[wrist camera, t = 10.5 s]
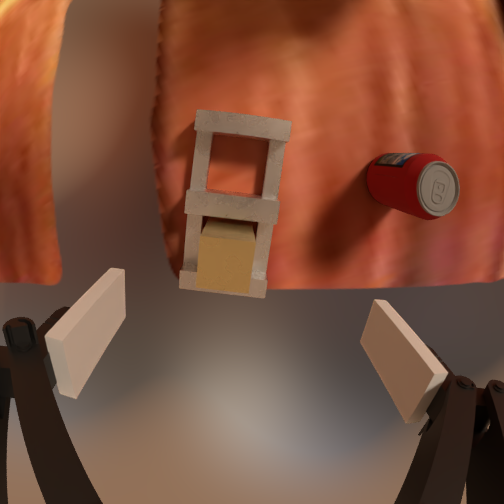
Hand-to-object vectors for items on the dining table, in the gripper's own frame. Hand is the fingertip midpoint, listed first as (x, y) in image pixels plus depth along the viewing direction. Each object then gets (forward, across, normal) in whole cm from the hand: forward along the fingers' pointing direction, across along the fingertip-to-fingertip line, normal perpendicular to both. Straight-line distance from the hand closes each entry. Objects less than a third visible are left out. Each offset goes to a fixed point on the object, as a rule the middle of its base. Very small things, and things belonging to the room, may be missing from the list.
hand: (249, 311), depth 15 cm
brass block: (+23, -2, -3) cm, 23 cm away
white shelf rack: (+23, -2, +2) cm, 23 cm away
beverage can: (+23, +17, +8) cm, 30 cm away
